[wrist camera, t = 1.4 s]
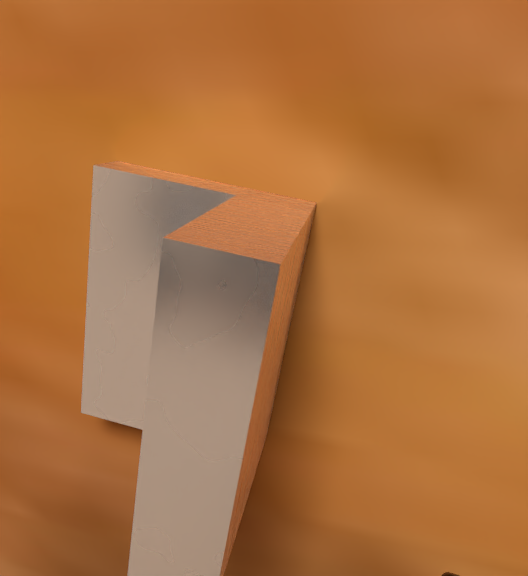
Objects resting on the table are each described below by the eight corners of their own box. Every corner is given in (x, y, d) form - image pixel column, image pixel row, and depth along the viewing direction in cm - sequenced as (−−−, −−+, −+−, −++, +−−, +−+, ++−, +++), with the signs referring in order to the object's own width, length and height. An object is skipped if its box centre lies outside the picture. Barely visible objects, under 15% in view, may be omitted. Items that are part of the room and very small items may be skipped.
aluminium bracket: (267, 433, 17) (212, 610, 11) (103, 389, 17) (-35, 531, 11) (316, 202, 14) (280, 264, 8) (119, 161, 15) (-53, 188, 9)
